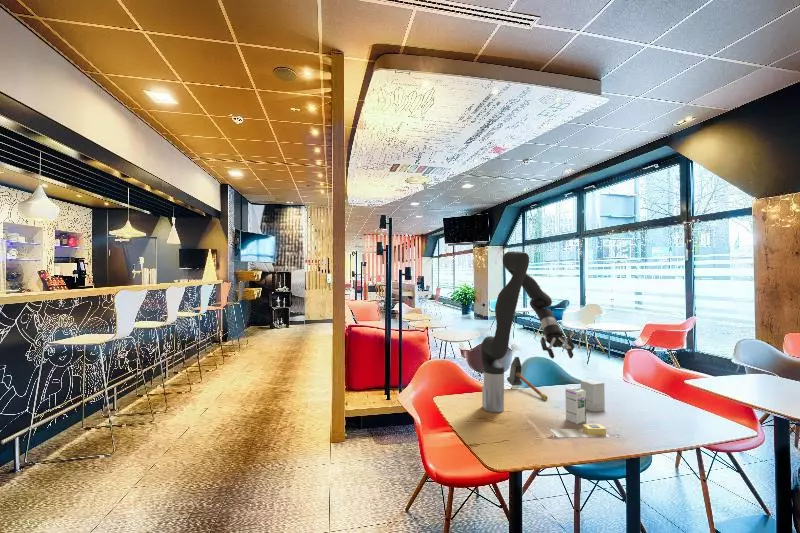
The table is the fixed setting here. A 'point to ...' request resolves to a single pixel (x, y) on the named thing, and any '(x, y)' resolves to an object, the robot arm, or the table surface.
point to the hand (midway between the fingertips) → (562, 357)
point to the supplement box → (594, 394)
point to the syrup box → (575, 405)
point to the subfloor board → (573, 433)
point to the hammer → (520, 377)
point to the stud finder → (594, 429)
